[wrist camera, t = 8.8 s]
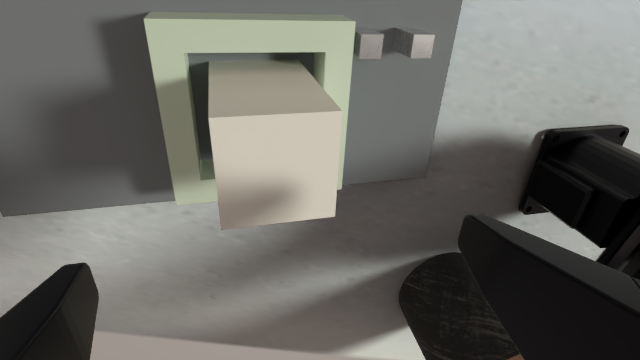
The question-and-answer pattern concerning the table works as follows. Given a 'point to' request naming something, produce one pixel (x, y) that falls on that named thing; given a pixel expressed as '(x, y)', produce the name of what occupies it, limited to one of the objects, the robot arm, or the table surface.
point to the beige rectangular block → (272, 143)
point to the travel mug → (452, 313)
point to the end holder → (236, 37)
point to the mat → (142, 103)
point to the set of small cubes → (404, 42)
